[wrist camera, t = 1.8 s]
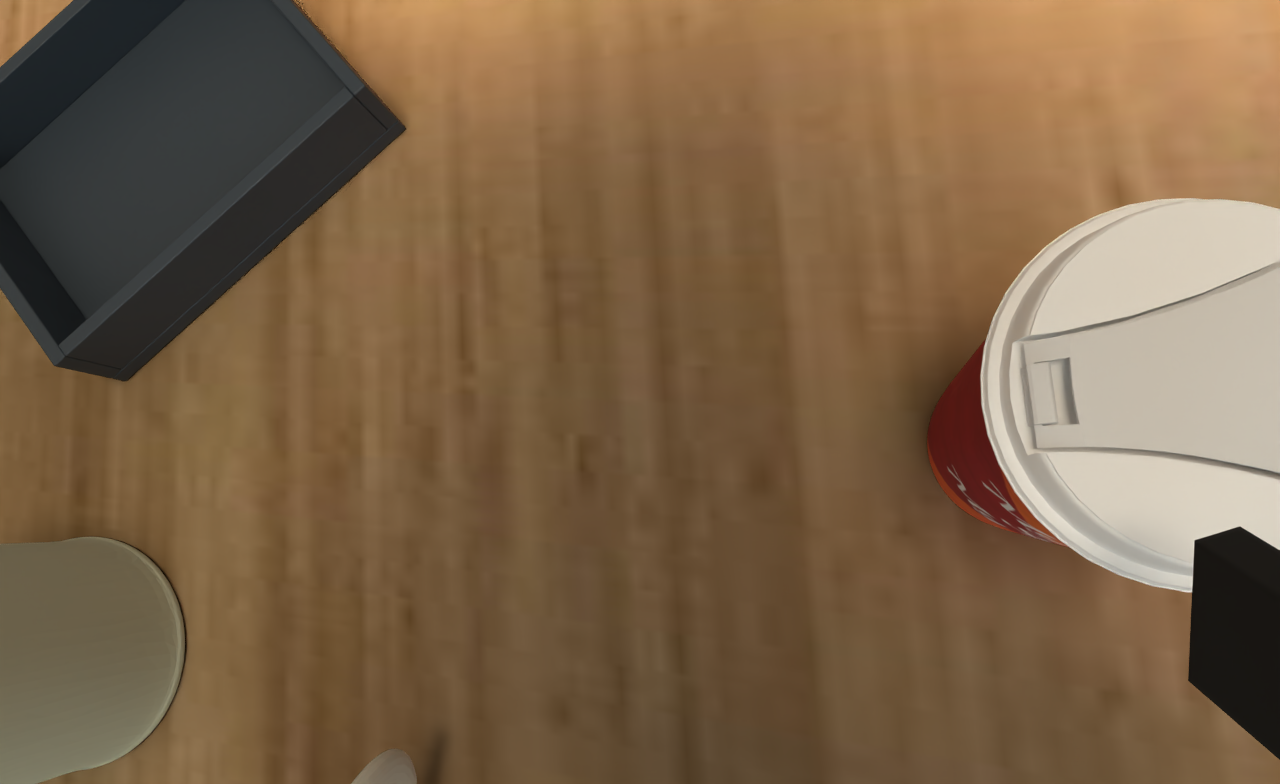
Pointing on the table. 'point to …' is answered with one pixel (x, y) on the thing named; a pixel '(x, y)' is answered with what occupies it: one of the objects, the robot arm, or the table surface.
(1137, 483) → the coffee cup
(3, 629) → the can
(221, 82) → the tray
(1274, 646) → the robot arm
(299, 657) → the table surface
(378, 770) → the mug
